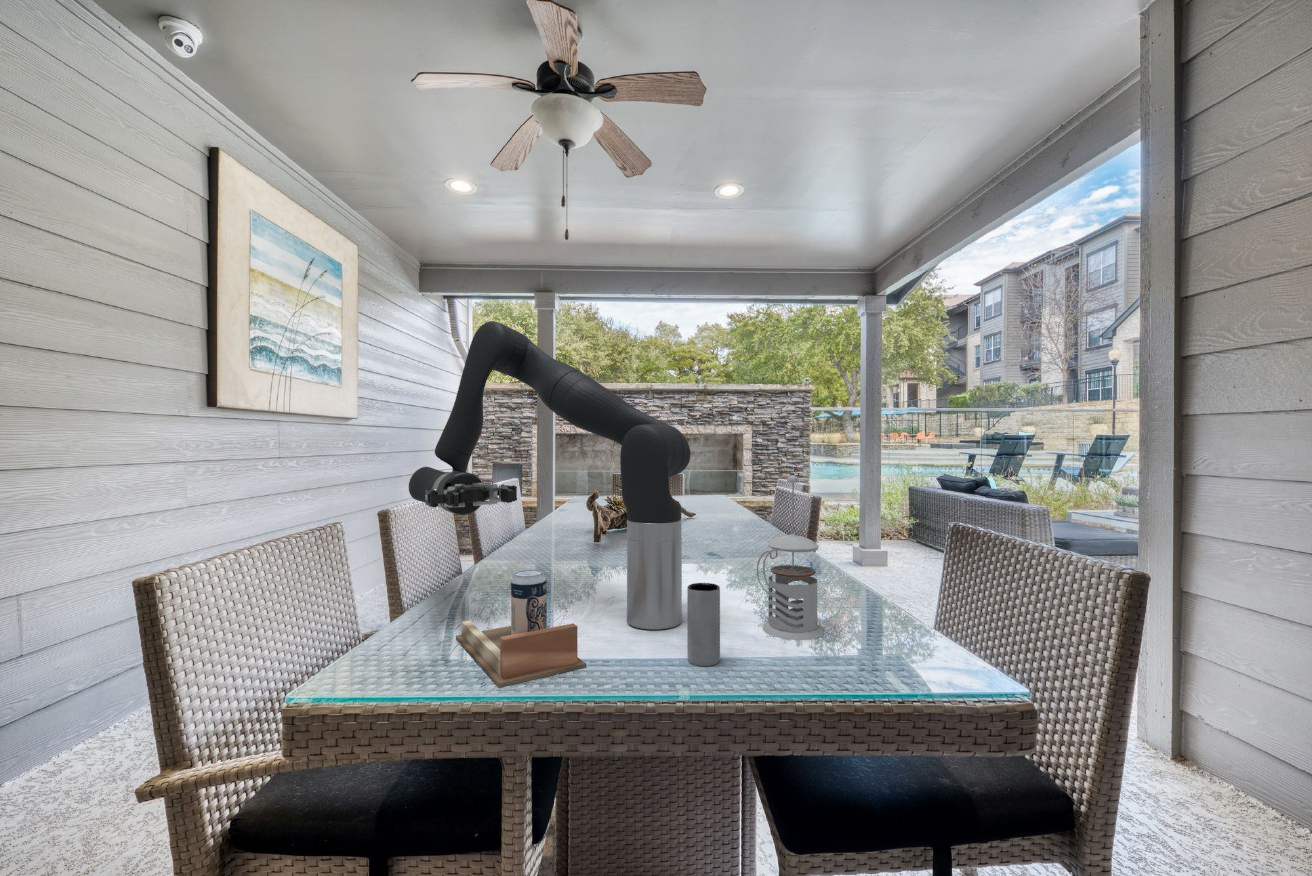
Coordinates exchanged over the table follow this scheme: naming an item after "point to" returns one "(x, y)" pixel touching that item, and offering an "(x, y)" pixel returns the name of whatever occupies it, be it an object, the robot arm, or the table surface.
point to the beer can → (528, 601)
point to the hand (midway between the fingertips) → (484, 498)
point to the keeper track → (522, 652)
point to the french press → (792, 589)
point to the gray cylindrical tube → (703, 624)
